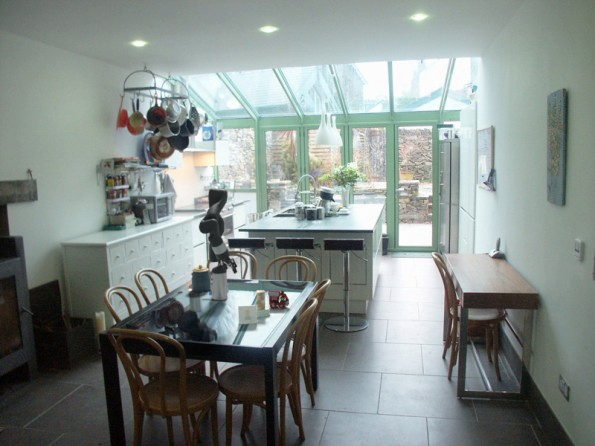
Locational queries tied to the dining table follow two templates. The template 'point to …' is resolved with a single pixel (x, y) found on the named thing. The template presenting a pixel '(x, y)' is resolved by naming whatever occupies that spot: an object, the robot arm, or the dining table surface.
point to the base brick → (263, 312)
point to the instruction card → (247, 314)
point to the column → (260, 299)
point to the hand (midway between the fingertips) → (231, 271)
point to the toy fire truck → (275, 297)
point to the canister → (201, 279)
